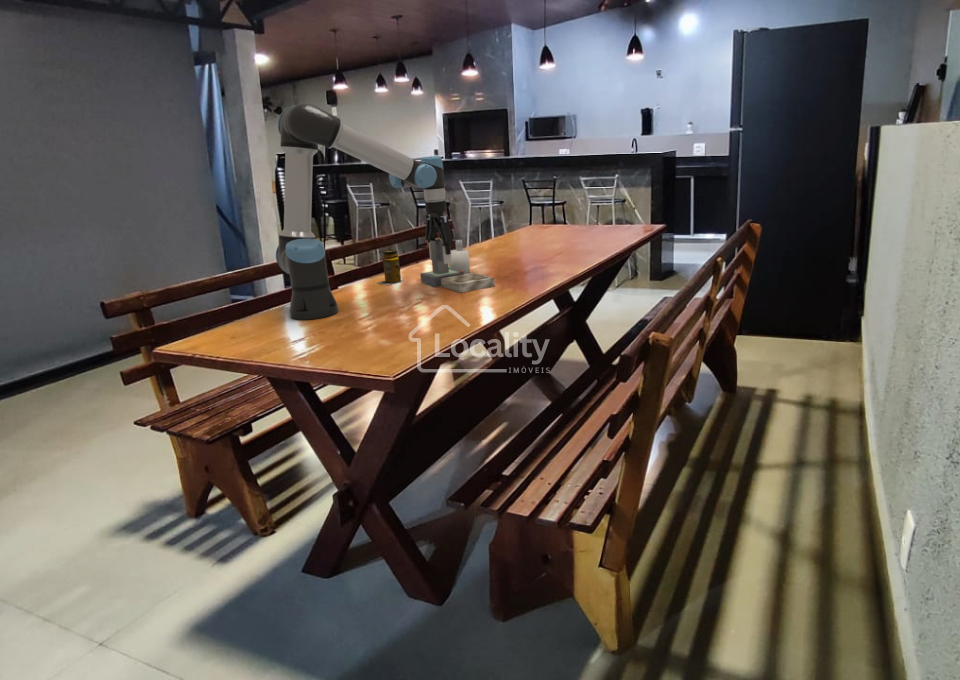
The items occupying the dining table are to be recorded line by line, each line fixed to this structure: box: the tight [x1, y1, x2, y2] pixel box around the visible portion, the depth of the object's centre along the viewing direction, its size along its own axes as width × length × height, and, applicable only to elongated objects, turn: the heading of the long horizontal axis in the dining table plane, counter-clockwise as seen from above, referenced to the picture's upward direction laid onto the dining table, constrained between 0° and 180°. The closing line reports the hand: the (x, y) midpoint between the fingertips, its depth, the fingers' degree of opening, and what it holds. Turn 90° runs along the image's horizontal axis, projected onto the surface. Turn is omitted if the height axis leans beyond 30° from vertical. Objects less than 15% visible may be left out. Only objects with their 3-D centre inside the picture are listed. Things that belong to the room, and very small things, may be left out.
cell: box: [430, 237, 449, 274], centre depth 246 cm, size 4×4×13 cm
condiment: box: [377, 249, 405, 286], centre depth 254 cm, size 7×8×12 cm
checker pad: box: [426, 270, 458, 277], centre depth 248 cm, size 9×9×2 cm
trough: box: [440, 272, 496, 294], centre depth 238 cm, size 14×14×3 cm
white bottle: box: [448, 239, 471, 274], centre depth 260 cm, size 8×8×13 cm
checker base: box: [420, 265, 464, 288], centre depth 248 cm, size 12×12×4 cm
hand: (440, 261), depth 247 cm, fingers open, 11 cm apart
